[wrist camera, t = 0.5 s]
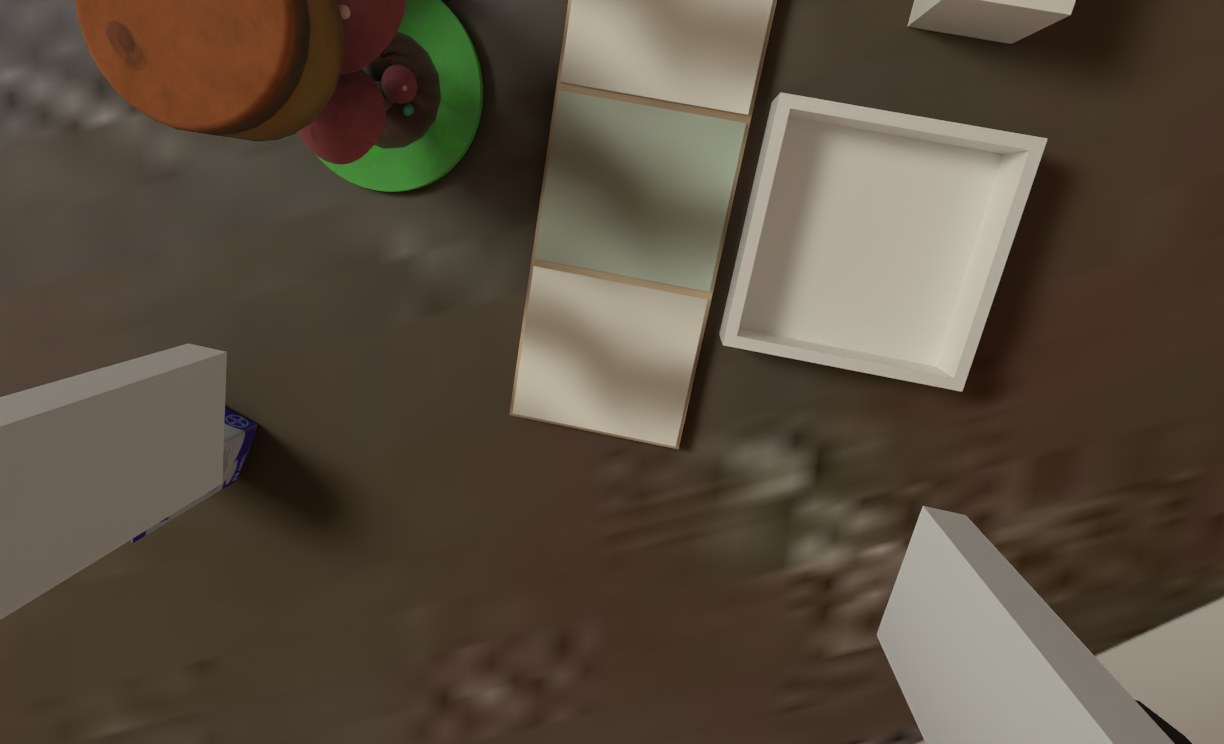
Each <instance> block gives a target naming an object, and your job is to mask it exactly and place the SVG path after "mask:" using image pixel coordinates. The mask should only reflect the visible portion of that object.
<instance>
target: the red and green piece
mask: <svg viewBox="0 0 1224 744" xmlns="http://www.w3.org/2000/svg"><path fill="white" fill-rule="evenodd" d="M75 2H76V9H77V15H78V20H79V23H80V26H81V29H82V32H83V36H84V39H85V42H86V45H87V47H88V48H89V50H90V52H91V54H92V56H93V58H94V60H95V62H96V64H97V66H98V68H99V69H100V71H101V72H102V73H103V75H104V76H105V77H106V79H107V80H108V81H109V83H110V84H111V85H112V86H113V88H114V89H115V90H116V91H117V92H118V93H119V94H120V95H121V96H122V97H123V98H124V99H126V100H127V101H128V102H129V103H130V104H131V105H132V106H133V107H134V108H136V109H137V110H139V111H141V112H142V113H144V114H145V115H147V116H148V117H150V118H152V119H153V120H155V121H157V122H160V123H163V124H165V125H168V126H170V127H173V128H175V129H179V130H185V131H192V132H198V133H205V134H212V135H218V136H225V137H232V138H239V139H245V140H252V141H268V140H277V139H280V138H283V137H286V136H289V135H292V134H295V133H296V132H298V134H299V135H300V137H301V138H302V140H303V141H304V143H305V144H306V145H307V146H308V148H309V149H310V150H311V151H312V152H313V153H314V154H316V156H317V157H318V158H319V159H320V160H321V161H322V162H323V163H324V164H325V165H326V166H327V167H329V168H330V169H331V170H332V171H333V172H335V173H336V174H338V175H339V176H341V177H342V178H344V179H346V180H347V181H349V182H352V183H354V184H356V185H358V186H361V187H364V188H367V189H372V190H376V191H385V192H402V191H410V190H414V189H418V188H421V187H424V186H427V185H429V184H431V183H433V182H435V181H437V180H438V179H440V178H441V177H443V176H444V175H446V174H447V173H448V172H449V171H450V170H452V169H453V168H454V167H455V166H456V164H457V163H458V162H459V161H460V160H461V159H462V157H463V156H464V155H465V153H466V152H467V150H468V148H469V147H470V145H471V143H472V141H473V139H474V137H475V134H476V131H477V129H478V126H479V122H480V118H481V113H482V106H483V79H482V72H481V67H480V63H479V59H478V56H477V53H476V50H475V47H474V45H473V43H472V41H471V39H470V36H469V35H468V33H467V31H466V29H465V28H464V26H463V25H462V23H461V22H460V20H459V19H458V18H457V16H456V15H455V14H454V13H453V12H452V11H451V10H450V8H448V7H447V6H446V5H445V4H444V3H443V2H442V1H441V0H75Z"/></svg>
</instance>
